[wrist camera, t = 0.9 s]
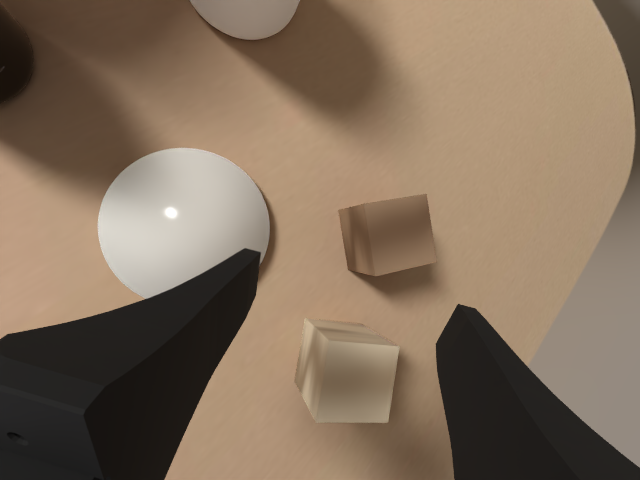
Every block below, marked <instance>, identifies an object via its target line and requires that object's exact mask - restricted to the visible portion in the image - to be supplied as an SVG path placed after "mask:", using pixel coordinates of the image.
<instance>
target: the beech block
mask: <svg viewBox="0 0 640 480" xmlns="http://www.w3.org/2000/svg"><path fill="white" fill-rule="evenodd" d="M399 347H400V346H398V345H396V344H395V343H393V342H391V341H390V340H388V339H386V338H385V337H383V336H381V335H380V334H378V333H376V332H375V331H373V330H371V329H370V328H368V327H366V326H365V325H363V324H359V323H350V322H340V321H331V320H321V319H311V318H305V321H304V327H303V333H302V339H301V345H300V351H299V357H298V363H297V369H296V375H295V383H296V385H297V387H298V389H299V391H300V393H301V395H302V397H303V399H304V401H305V403H306V404H307V406H308V408H309V410H310V412H311V414H312V416H313V418H314V420H315V422H316V423H388V420H389V413H390V406H391V400H392V393H393V387H394V380H395V373H396V367H397V360H398V354H399Z"/></svg>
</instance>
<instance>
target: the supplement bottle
mask: <svg viewBox="0 0 640 480" xmlns="http://www.w3.org/2000/svg"><path fill="white" fill-rule="evenodd" d="M32 69H33V51H32V47H31V44H30V42H29V39H28V37H27V35H26V33H25V32H24V30H23V28H22V27H21V26H20V24H19V23H18V22H17V21H16V19H15V18H14V17H13V16H12V15H11V14H10V13H9V12H8V11H7V10H6V8H5V7H4V6H3V5H2V4H1V3H0V103H3V102H5V101H7V100H9V99H11V98H12V97H14V96H15V95H17V94H18V93H19V92H20V91H21V90H22V89H23V88H24V87H25V85H26V84H27V82H28V80H29V78H30V76H31V73H32Z"/></svg>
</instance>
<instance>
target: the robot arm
mask: <svg viewBox="0 0 640 480" xmlns="http://www.w3.org/2000/svg"><path fill="white" fill-rule="evenodd" d="M260 257H261V252H258V251H255V250H251V249H247V248H244V249H242V250H241V251H239V252H237V253H235V254H234V255H232V256H231V257H229V258H227V259H226V260H224V261H222V262H221V263H219V264H217V265H216V266H214V267H212V268H210V269H209V270H207V271H205V272H203V273H202V274H200V275H198V276H196V277H194V278H192V279H190V280H188V281H186V282H184V283H182V284H180V285H178V286H176V287H174V288H172V289H169V290H167V291H165V292H162V293H160V294H157V295H155V296H152V297H150V298H147V299H145V300H142V301H139V302H136V303H133V304H130V305H127V306H124V307H121V308H118V309H115V310H112V311H109V312H105V313H102V314H98V315H94V316H91V317H87V318H83V319H79V320H75V321H71V322H67V323H62V324H58V325H53V326H48V327H43V328H38V329H33V330H28V331H23V332H18V333H12V334H7V335H6V336H4V337H3V338H1V339H0V480H164V479H165V477H166V474H167V472H168V470H169V467H170V465H171V463H172V460H173V458H174V456H175V454H176V451H177V449H178V447H179V445H180V442H181V440H182V438H183V436H184V433H185V431H186V429H187V427H188V425H189V422H190V420H191V418H192V416H193V414H194V411H195V409H196V407H197V405H198V403H199V401H200V399H201V397H202V394H203V392H204V390H205V388H206V386H207V384H208V382H209V380H210V378H211V376H212V374H213V373H214V371H215V369H216V367H217V366H218V364H219V362H220V361H221V359H222V357H223V356H224V354H225V352H226V351H227V349H228V347H229V346H230V344H231V342H232V341H233V339H234V337H235V336H236V334H237V332H238V331H239V329H240V327H241V326H242V324H243V322H244V320H245V319H246V317H247V314H248V312H249V310H250V308H251V305H252V303H253V301H254V298H255V296H256V290H257V281H258V273H259V265H260ZM436 360H437V372H438V378H439V384H440V389H441V394H442V399H443V404H444V410H445V415H446V420H447V425H448V430H449V435H450V442H451V448H452V457H453V468H454V479H455V480H640V468H639V467H638V466H637V465H635V464H634V463H633V462H631V461H630V460H629V459H627V458H626V457H625V456H624V455H623V454H621V453H620V452H619V451H618V450H616V449H615V448H614V447H613V446H612V445H610V444H609V443H608V442H607V441H606V440H604V439H603V438H602V437H601V436H600V435H598V434H597V433H596V432H595V431H594V430H592V429H591V428H590V427H589V426H588V425H587V424H586V423H584V422H583V421H582V420H581V419H580V418H579V417H578V416H577V415H576V414H574V413H573V412H572V411H571V410H570V409H569V408H568V407H567V406H566V405H565V404H564V403H563V402H562V401H560V400H559V399H558V398H557V397H556V396H555V395H554V394H553V393H552V392H551V391H550V390H549V389H548V388H547V387H546V386H545V385H544V384H543V383H542V382H541V381H540V379H539V378H538V377H536V375H535V374H534V373H533V372H532V371H531V370H530V369H529V368H528V367H527V366H526V365H525V364H524V363H523V361H522V360H521V359H520V358H519V357H518V356H517V355H516V354H515V353H514V351H513V350H512V349H511V348H510V347H509V346H508V345H507V343H506V342H505V341H504V340H503V339H502V338H501V336H500V335H499V334H498V333H497V332H496V331H495V330H494V328H493V327H492V326H491V325H490V324H489V323H488V322H487V320H486V319H485V318H484V317H483V316H482V315H481V314H480V313H479V312H478V311H477V310H476V309H475V308H472V307H468V306H464V305H460V304H458V305H457V307H456V308H455V310H454V312H453V314H452V316H451V317H450V319H449V321H448V323H447V325H446V326H445V328H444V330H443V332H442V334H441V335H440V337H439V339H438V341H437V343H436Z"/></svg>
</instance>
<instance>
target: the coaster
mask: <svg viewBox="0 0 640 480" xmlns="http://www.w3.org/2000/svg"><path fill="white" fill-rule="evenodd" d="M269 235H270V221H269V215H268V210H267V207H266V203H265V201H264V199H263V196H262V194H261V192H260V191H259V189H258V187H257V186H256V184H255V183H254V182H253V180H252V179H251V178H250V177H249V176H248V175H247V174H246V173H245V172H244V171H243V170H242V169H241V168H239V167H238V166H237V165H236V164H234V163H233V162H231V161H229V160H228V159H226V158H224V157H222V156H219V155H217V154H215V153H212V152H208V151H205V150H200V149H194V148H172V149H166V150H161V151H157V152H154V153H151V154H148V155H146V156H144V157H142V158H140V159H138V160H137V161H135V162H134V163H132V164H130V165H129V166H128V167H127V168H126V169H124V170H123V171H122V172H121V173H120V174H119V175H118V176H117V177H116V179H115V180H114V181H113V182H112V184H111V185H110V187H109V188H108V190H107V192H106V194H105V196H104V199H103V201H102V204H101V208H100V211H99V218H98V236H99V242H100V246H101V249H102V252H103V255H104V257H105V259H106V261H107V263H108V265H109V267H110V268H111V270H112V271H113V272H114V274H115V275H116V276H117V277H118V278H119V280H120V281H121V282H122V283H123V284H124V285H126V286H127V287H128V288H129V289H131V290H132V291H133V292H135V293H137V294H138V295H140V296H142V297H144V298H146V299H147V298H150V297H152V296H155V295H157V294H160V293H162V292H165V291H167V290H169V289H172V288H174V287H176V286H178V285H180V284H182V283H184V282H186V281H188V280H190V279H192V278H194V277H196V276H198V275H200V274H202V273H203V272H205V271H207V270H209V269H210V268H212V267H214V266H216V265H217V264H219V263H221V262H222V261H224V260H226V259H227V258H229V257H231V256H232V255H234V254H235V253H237V252H239V251H241V250H242V249H244V248H247V249H251V250H255V251H258V252H261V257H260V264H261V262H262V261H263V258H264V256H265V253H266V251H267V246H268V242H269ZM259 266H260V265H259Z"/></svg>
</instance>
